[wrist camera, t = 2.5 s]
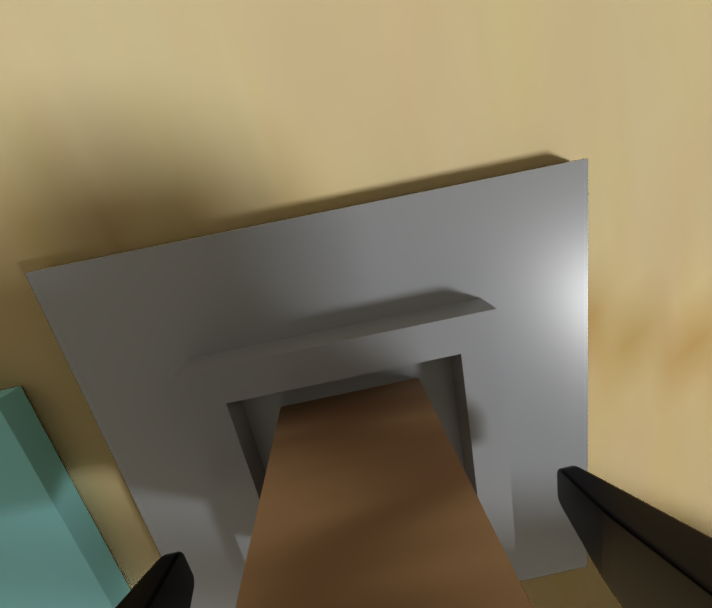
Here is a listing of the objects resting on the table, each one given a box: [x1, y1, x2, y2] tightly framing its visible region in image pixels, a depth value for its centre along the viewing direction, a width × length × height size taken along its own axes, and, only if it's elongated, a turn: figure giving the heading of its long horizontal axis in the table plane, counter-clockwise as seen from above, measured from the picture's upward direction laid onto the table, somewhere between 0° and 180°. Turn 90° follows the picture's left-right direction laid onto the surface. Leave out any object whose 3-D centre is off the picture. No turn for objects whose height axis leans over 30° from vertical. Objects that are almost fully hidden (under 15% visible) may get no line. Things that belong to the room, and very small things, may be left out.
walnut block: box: [235, 378, 533, 608], centre depth 7 cm, size 4×4×8 cm
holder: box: [25, 158, 588, 608], centre depth 11 cm, size 14×14×2 cm
